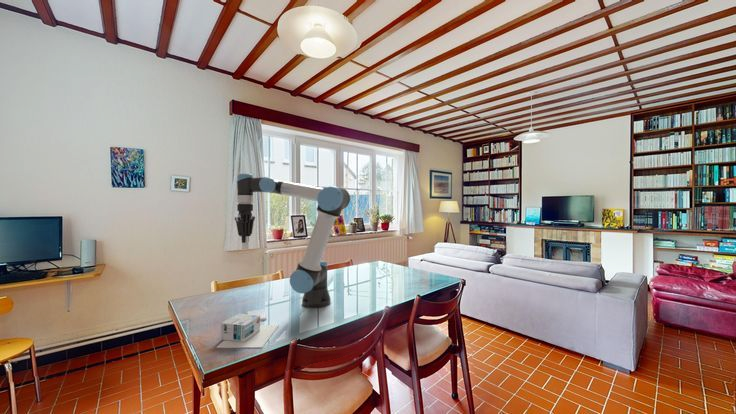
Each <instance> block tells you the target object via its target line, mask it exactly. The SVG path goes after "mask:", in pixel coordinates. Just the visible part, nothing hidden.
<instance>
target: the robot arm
mask: <svg viewBox="0 0 736 414" xmlns="http://www.w3.org/2000/svg"><path fill="white" fill-rule="evenodd" d="M236 185H237V186H236V188H237V207H236V208H237V210H236V211H238V214H237V216H236V217H234V220H235V224H236V229H237V235H238V236H239V237H241V248H242V249H241V250H249V249H250V248H249V242H250V237H251V236H252V235H253V229H254V222H255V219H256V217H255V216H253V213H252V212H253V211H254V204H253V203H254V193H267V194H268V193H270V194H276V195H277V194H278V195H283V196H289V197H292V198H298V199H303V200H308V201H312V202H313V201H314V202H317V207H316V211H317V214H318V215H317V217H316V220H315V223H314V226H313V228H312V232H311V234H310V238H309V241H308V244H307V247H306V249H305V252H304V255H303V258H302V259H301V260H298V263H297V266H296V270H294V271H293V272H292V273H291V275H290V277H289V284H290V286H291V288H292V290H293V291H295V293H298V294H303V296H302V298H301V300H302V301H301V305H302V306H303V307H306V308H312V309H313V308H322V307H323V308H324V307H326V306H328V305H330V304H331V301H332V300H331V296H330V293H329V289H328V263H327V261H326V260H322V259H323V256H324V255H325V254H324V253H325V250H326V247H327V244H328V242H329V239H330V236H331V233H332V230H333V228H334V225H335V221H336V220H337V219H338V218H340V217H341V213H342V211H343V210H344V209H346V208H347V207H348V206H349V204H350V201H351V196H350V193H349V191H348V190H346V189H345V188H343V187H340V186H335V185H328V186H325V187H317V186H312V185H308V184H307V185H306V184H302V183H296V182H290V181H286V180H285V181H284V180H281V179H274V178H273V177H271V176H270V177H268V176H263V177H254V175H253V174H252V173H238V174H237V180H236Z"/></svg>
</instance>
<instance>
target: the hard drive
mask: <svg viewBox="0 0 736 414" xmlns="http://www.w3.org/2000/svg"><path fill="white" fill-rule="evenodd" d="M246 314H248V315H258V316H260V322H262V321H263V322H264V321H267V314H266V309H265V308H261V309H256V310H255V309H253V310H249V311H248V310H247V313H246Z"/></svg>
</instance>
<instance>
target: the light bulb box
mask: <svg viewBox="0 0 736 414" xmlns="http://www.w3.org/2000/svg"><path fill="white" fill-rule="evenodd" d="M260 325H261V321H260V316H258V315H248V314H247V313H239V312H238V313H236V314H235V315H233V316H230V317H229V318H228V319H225V320H224V321H222V322H221V323H220V340H222V341H224V340H231V341H239V342H245V341H247V340H248V339H249V338H250V337H252V336H253V335H254V334H256V333H257V332H259V331H260Z"/></svg>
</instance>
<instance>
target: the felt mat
mask: <svg viewBox="0 0 736 414" xmlns="http://www.w3.org/2000/svg"><path fill="white" fill-rule="evenodd" d="M279 326H280V325H279V324H277V325H276V324H267V325H266V324H260V331H259V332H257V333H256V334H254V335H253V336H252V337H250V338H249V339H248V340H247V341H245V342H239V341H231V340H222V341H221V342H220V343H219V344H218V345H217V346H216V349H262V348H264V346H265V345H266V344H267V342H268V341H269V339H270V338H271V337H272V336H273V334H274V333H275V332H276V331H277V329H278V328H279Z"/></svg>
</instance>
